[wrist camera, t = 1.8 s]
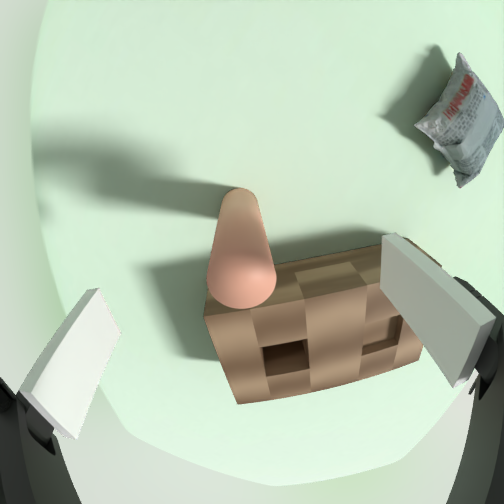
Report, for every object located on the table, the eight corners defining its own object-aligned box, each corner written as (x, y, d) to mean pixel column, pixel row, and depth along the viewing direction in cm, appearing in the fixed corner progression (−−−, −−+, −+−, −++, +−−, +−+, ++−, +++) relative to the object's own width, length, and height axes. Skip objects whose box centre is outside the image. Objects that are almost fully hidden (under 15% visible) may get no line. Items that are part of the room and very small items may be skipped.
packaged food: (399, 124, 20) (432, 127, 16) (448, 53, 16) (479, 48, 12) (446, 184, 23) (477, 197, 18) (488, 113, 19) (518, 117, 15)
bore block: (209, 276, 25) (203, 316, 20) (408, 238, 25) (441, 265, 19) (236, 363, 30) (237, 404, 25) (397, 327, 30) (418, 360, 24)
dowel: (218, 191, 22) (198, 255, 11) (254, 184, 22) (270, 242, 11) (225, 225, 23) (215, 313, 13) (260, 219, 23) (280, 302, 12)
